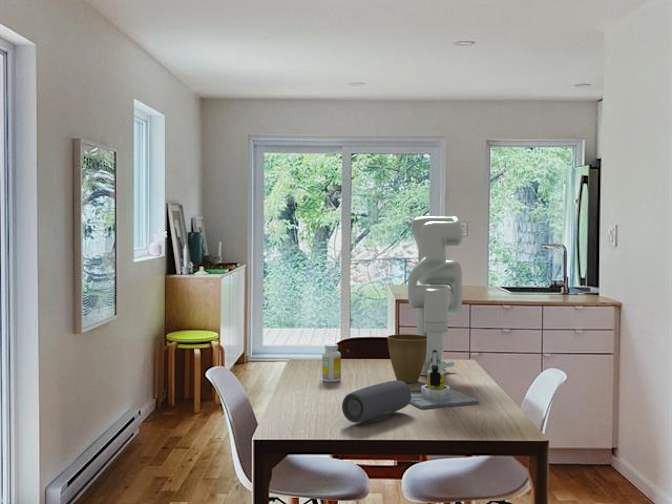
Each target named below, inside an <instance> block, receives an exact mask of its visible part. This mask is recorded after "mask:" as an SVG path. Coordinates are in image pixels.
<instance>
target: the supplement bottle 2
mask: <svg viewBox="0 0 672 504" xmlns="http://www.w3.org/2000/svg"><path fill="white" fill-rule="evenodd" d="M432 363H433V362H432ZM437 363H438V362H437ZM437 366H438V365H437ZM430 373H431V363H430V370H428V373H427V376H426V378H427V379H426V381H427V383H426V385H427V389H444V385H445V374H444V371H443V370H442V363H441V364H440V371H439V373H440V386H431V385H430Z"/></svg>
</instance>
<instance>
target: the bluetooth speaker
mask: <svg viewBox="0 0 672 504" xmlns="http://www.w3.org/2000/svg"><path fill="white" fill-rule="evenodd" d="M410 391H411V389H410V387H409V386H408V383H405V382H403V381H397V380H391V381H390V380H389V381H385V382H381V383H377V384H372V385H369V386H367V387H366V386H365V387H364V388H360V389H357V390H354V391H352V392H349V393H347V394H346V395H345V396H344V398H343V399H342V403H341V410H342V413H343V415H344V417H345V418H346V420H348V421H349V422H352V423H353V424H358V423H366V422H367V423H368V424H373V423H372V422H374V423H377V422H381V421H384V420H387V419H388V417H389V418H391V415H392V414H393V413H396V412H397V411H401V410H403V409H405V408H406V407H407V406H408V405H410V401H411V392H410Z"/></svg>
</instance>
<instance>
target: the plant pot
mask: <svg viewBox="0 0 672 504" xmlns="http://www.w3.org/2000/svg"><path fill="white" fill-rule="evenodd" d="M387 346H388V353H389V358H390V361H391V365H392V369H393V373H394V376H395V378H396V381H403V382H405V383H406V384H415V383H418V382H419V380H420V377H421V376H422V375H421V372H422V369H423V366H424V362H425V358H426V352H427V336H423V335H417V334H413V333H412V334H411V333H409V334H407V333H406V334H405V333H404V334H403V333H401V334H399V333H397V334H390V335H388V336H387Z"/></svg>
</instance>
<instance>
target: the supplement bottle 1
mask: <svg viewBox="0 0 672 504" xmlns="http://www.w3.org/2000/svg"><path fill="white" fill-rule="evenodd" d="M338 349H339V344H336V343H327V344H325V345H324V350H325V351H323V353H322V354H321V357H322V359H321V361H322V362H321V364H322V365H321V366H322V370H321V371H322V372H321V373H322V380H323V382H326V383H327V382H328V383H336V382H340V381H341V379H342V367H341V366H342V356H341V355H342V354H341V352H340V351H338Z"/></svg>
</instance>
